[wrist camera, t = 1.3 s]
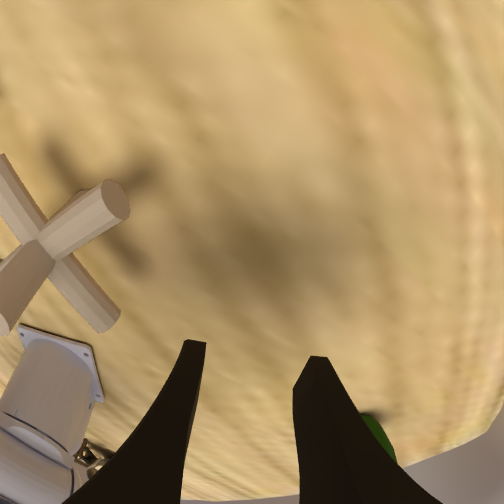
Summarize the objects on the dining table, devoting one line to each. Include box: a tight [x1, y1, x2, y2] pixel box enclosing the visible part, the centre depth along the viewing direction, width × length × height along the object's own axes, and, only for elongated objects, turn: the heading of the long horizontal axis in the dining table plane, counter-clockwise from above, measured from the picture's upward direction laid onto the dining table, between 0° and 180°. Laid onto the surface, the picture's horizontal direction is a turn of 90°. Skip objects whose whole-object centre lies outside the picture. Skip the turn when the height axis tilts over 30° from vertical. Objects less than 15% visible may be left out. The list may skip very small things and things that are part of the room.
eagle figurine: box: [72, 438, 109, 479], centre depth 36 cm, size 8×7×9 cm
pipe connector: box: [0, 154, 130, 336], centre depth 13 cm, size 10×10×10 cm
